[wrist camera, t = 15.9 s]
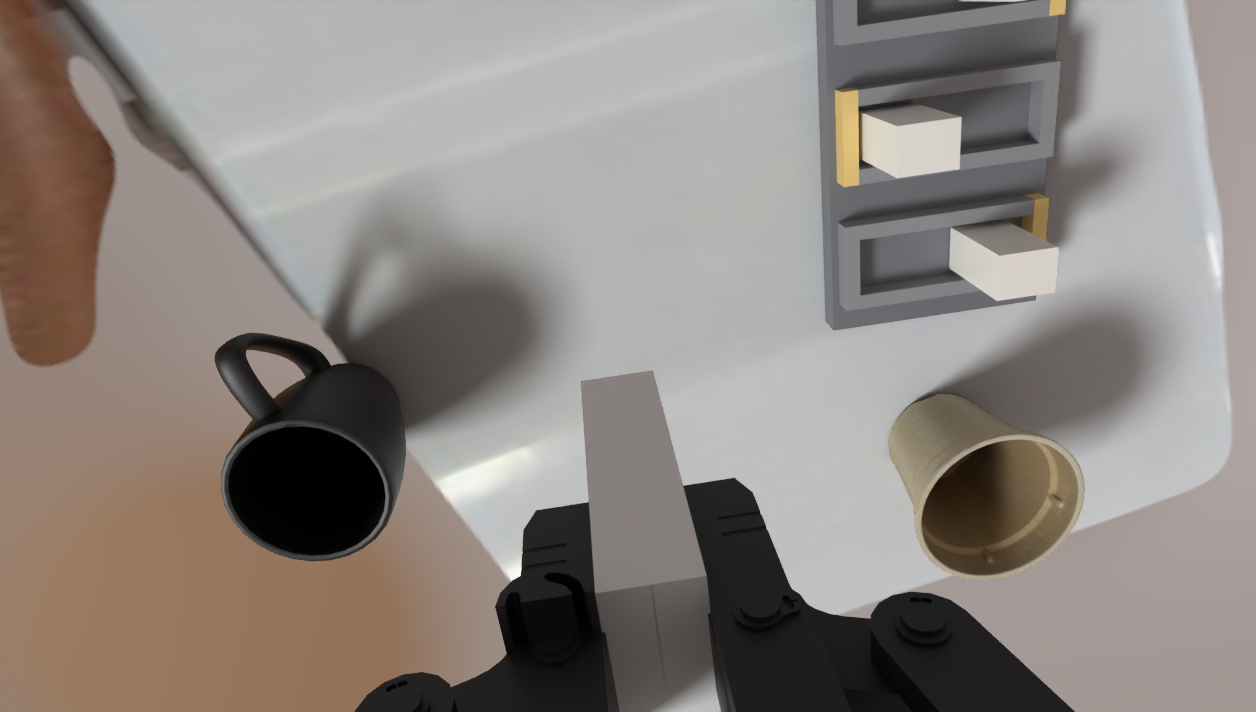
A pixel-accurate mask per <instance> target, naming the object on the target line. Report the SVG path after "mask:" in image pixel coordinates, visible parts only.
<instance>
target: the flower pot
mask: <svg viewBox="0 0 1256 712" xmlns="http://www.w3.org/2000/svg"><path fill="white" fill-rule="evenodd" d="M889 450H890V456H891V459H892V461H893V463H894V465H895V467H896V469H897V471H898V473H899V475H900V477H901V479H902V482H903V484H904V486H905V488H906V490H907V492H908V495H909V497H910V499H911V501H912V504H913V506H914V515H915V531H916V536H917V539H918V542H919V544H920V546H921V548H922V550H923V552H924V553H925V555H926V556H927V557H928V559H929V560H930V561H931V562H932V563H933V564H935V565H936V566H937V567H939V568H940V569H942V570H943V571H945V572H948V573H949V574H952V575H955V576H958V577H963V578H968V579H975V580H976V579H977V580H985V579H988V580H989V579H990V580H991V579H996V578H1002V577H1005V576H1011V575H1013V574H1016V573H1018V572H1021V571H1024V570H1026V569H1028V568H1030V567H1031V566H1033V565H1035V564H1038V563H1039V562H1040V561H1042V560H1043V559H1045V558H1046V557H1047V556H1048V555H1050V554H1051V553H1052V552H1053V551H1055V550H1056V548H1058V547H1059V545H1060V544H1061V543H1062V542H1063V541H1064V540H1065V539H1066V538H1067V536H1068V534H1069V533H1070V531H1071V530H1072V528H1073V527H1074V525H1075V523H1076V521H1077V519H1078V517H1079V514H1080V512H1081V509H1082V505H1083V499H1084V491H1085V490H1084V489H1085V487H1084V479H1083V475H1082V472H1081V468H1080V466H1079V464H1078V463H1077V461H1076V459H1075V458H1074V457H1073V455H1072V454H1071V453H1070V452H1069V451H1068V450H1067V449H1065V448H1064V447H1063V446H1061V445H1060V444H1058V443H1057V442H1055V441H1053V440H1051V439H1049V438H1047V437H1044V436H1041V435H1037V434H1032V433H1027V432H1023V431H1019V430H1016V429H1014V428H1013V427H1011V426H1009V425H1008V424H1006V423H1004V422H1003V421H1001V420H999V419H998V418H996V417H994V416H993V415H991V414H989V413H988V412H986V411H985V410H983V409H981V408H980V407H978V406H976V405H975V404H973V403H972V402H970V401H969V400H967V399H965V398H963V397H961V396H957V395H953V394H936V395H935V396H933V397H930V398H927V399H925V400H922V401H919V402H915V403H913V404H912V405H910V406H909V407H908V408H907V409H906V410H905V411H904V412H902V414H901V415H900V416H899V417H898V419H897V420H896V422H895V423H894V425H893V427H892V430H891V433H890V436H889Z"/></svg>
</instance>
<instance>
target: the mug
mask: <svg viewBox="0 0 1256 712" xmlns="http://www.w3.org/2000/svg"><path fill="white" fill-rule="evenodd" d="M246 350H257V351H262V352H268V353H272V354H276V355H279V356H282V357H285V358H287V359H289V360H291V361H292V362H294V363H295V364H296V365H297V366H298V367H299V368H300V369H301V370H302V372H303V373H304V375H305V377H306V378H304V379H302V380H300V381H298V382H296V383H295V384H293V385H291V386H290V387H288V388H287V389H285V390H284V391H282V392H281V393H280V394H278V395H277V396H276V397H275V398H274V399H273V398H272V397H271V396H270V395H269V394H268V392H267V391H266V390H265V389H264V387H263V386H262V384H261V383H260V381H259V380H258V378H257V377H256V375H255V374H254V372H253V371H252V369H251V367H250V365H249V363H248V361H247V358H246ZM215 363H216V367H217V369H218V371H219V374H220V376H221V378H222V379H223V381H224V383H225V384H226V386H227V387H228V389H229V390H230V392H231V393H232V394H233V396H234V397H235V398H236V400H237V401H238V402H239V403H240V405H241V406H242V407H243V408H244V409H245V411H246V412H247V413H248V414H249V415H250V416H251V417H252V419H253V420H252V421H251V422H250V424H249V425H248V426H247V428H246V429H245V430H244V432H243V433H242V435H241V436H240V437H239V439H238V440H237V442H236V443H235V444H234V446H233V447H232V449H231V450H230V452H229V453H228V455H227V456H226V459H225V462H224V465H223V468H222V471H221V493H222V497H223V500H224V505H225V507H226V509H227V511H228V513H229V515H230V517H231V518H232V520H233V522H234V523H235V524H236V525H237V526H238V527H239V528H240V529H241V531H242V532H243V533H244V534H245V535H246V536H248V537H249V538H250V539H251V540H253V541H254V542H255V543H257V544H258V545H260V546H262V547H263V548H266V549H267V550H269V551H271V552H274V553H275V554H279V555H282V556H285V557H288V558H292V559H298V560H306V561H324V560H333V559H337V558H341V557H345V556H348V555H350V554H352V553H355V552H357V551H359V550H361V549H363V548H364V547H366V546H367V545H368V544H369V543H371V542H372V541H373V540H374V539H376V538H377V536H378V535H379V534H380V533H381V531H382V530H383V529H384V528H385V527H386V525H387V523H388V521H389V518H390V516H391V514H392V511H393V508H394V505H395V502H396V499H397V496H398V493H399V490H400V486H401V482H402V479H403V472H404V465H405V456H406V440H405V432H404V424H403V418H402V414H401V410H400V406H399V399H398V397H397V394H396V392H395V390H394V388H393V387H392V385H391V384H390V382H389V381H388V380H387V379H385V378H384V377H383V376H382V375H381V374H379V373H378V372H376V371H375V370H373V369H371V368H368V367H365V366H363V365H358V364H352V363H344V364H336V365H332V366H331V365H330V363H329V362H328V360H327V359H326V357H325V356H324V355H323V354H322V353H321V352H320V351H319V350H317V349H316V348H314V347H312V346H310V345H308V344H305V343H302V342H298V341H295V340H291V339H286V338H282V337H278V336H274V335H268V334H262V333H247V334H243V335H239V336H237V337H235V338H233V339H231V340H229V341H227V342H226V343H225V344H224V345H222V346H221V347H220V348H219V349H218V350H217V352H216V354H215Z"/></svg>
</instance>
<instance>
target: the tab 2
mask: <svg viewBox="0 0 1256 712" xmlns="http://www.w3.org/2000/svg"><path fill="white" fill-rule="evenodd" d="M959 1H986V2H1017V1H1024V0H959Z"/></svg>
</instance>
